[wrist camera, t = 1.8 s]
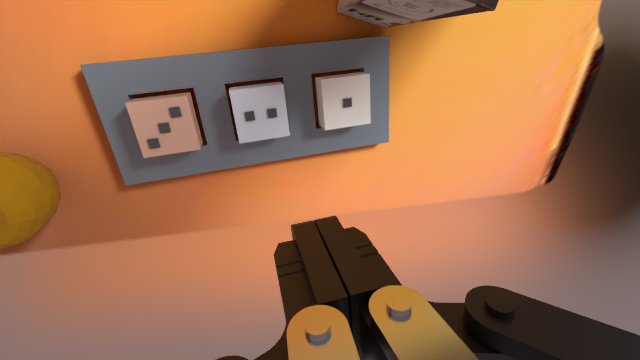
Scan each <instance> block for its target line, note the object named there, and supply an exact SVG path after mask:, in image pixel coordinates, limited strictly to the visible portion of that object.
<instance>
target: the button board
mask: <svg viewBox="0 0 640 360" xmlns="http://www.w3.org/2000/svg"><path fill="white" fill-rule="evenodd" d="M80 67H81V69H82V72H83V75H84V77H85V80H86V83H87V85H88V88H89V90H90V93H91V96H92V98H93V101H94V104H95V106H96V109H97V111H98V114H99V117H100V119H101V122H102V125H103V127H104V130H105V133H106V135H107V138H108V140H109V143H110V146H111V148H112V151H113V154H114V156H115V159H116V162H117V164H118V167H119V169H120V172H121V175H122V177H123V180H124V183H125V185H126V186H128V185H134V184H140V183H146V182H152V181H158V180H164V179H170V178H176V177H182V176H188V175H194V174H200V173H206V172H212V171H218V170H224V169H230V168H236V167H242V166H248V165H254V164H260V163H266V162H272V161H278V160H284V159H290V158H296V157H302V156H308V155H314V154H320V153H326V152H332V151H338V150H344V149H350V148H356V147H362V146H368V145H374V144H380V143H386V142H389V36H378V37H367V38H357V39H346V40H336V41H325V42H315V43H304V44H294V45H284V46H273V47H263V48H252V49H242V50H231V51H221V52H210V53H200V54H189V55H179V56H169V57H158V58H148V59H137V60H127V61H116V62H106V63H95V64H85V65H80ZM358 68H359V72H363V73H368V74H370V109H371V124H364V125H357V126H351V127H344V128H338V129H331V130H324V129H323V128H322V127H321V126H320V125H316V122H315V111H314V100H313V90H312V79H311V74H315V73H324V72H332V71H341V70H350V69H358ZM280 77H281V79H282V83H283V84H284V92H285V100H286V108H287V115H288V123H289V131H290V136H285V137H279V138H272V139H266V140H259V141H253V142H246V143H240V144H239V139H238V137H236V135H235V130H234V125H233V120H232V115H231V110H230V105H229V101H228V96H227V91H226V86H225V84H228V83H237V82H246V81H254V80H263V79H272V78H280ZM185 88H194V92H195V96H196V100H197V104H198V109H199V113H200V117H201V121H202V125H203V129H204V133H205V137H206V141H207V142H203V143H202V146H201V149H200V150H194V151H187V152H181V153H174V154H168V155H161V156H155V157H148V158H144V157H143V154H142V151H141V148H140V146H139V143H138V140H137V137H136V134H135V131H134V128H133V125H132V122H131V119H130V116H129V113H128V110H127V107H126V104H125V103H126V102H128V101H130V100H132V99H134V96H133V94H142V93H150V92H159V91H168V90H176V89H185Z"/></svg>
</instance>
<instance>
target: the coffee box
mask: <svg viewBox="0 0 640 360" xmlns="http://www.w3.org/2000/svg"><path fill="white" fill-rule="evenodd" d="M497 3H498V0H339V2H338V6H337V12H338V13H341V14H344V15H347V16H350V17H353V18H356V19H359V20H362V21H365V22H368V23H371V24H374V25H377V26H380V27H390V26H395V25H402V24H409V23H415V22H422V21H428V20H434V19H441V18H447V17H453V16H459V15H466V14H473V13H479V12H485V11H494V10H495V8H496V6H497Z"/></svg>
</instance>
